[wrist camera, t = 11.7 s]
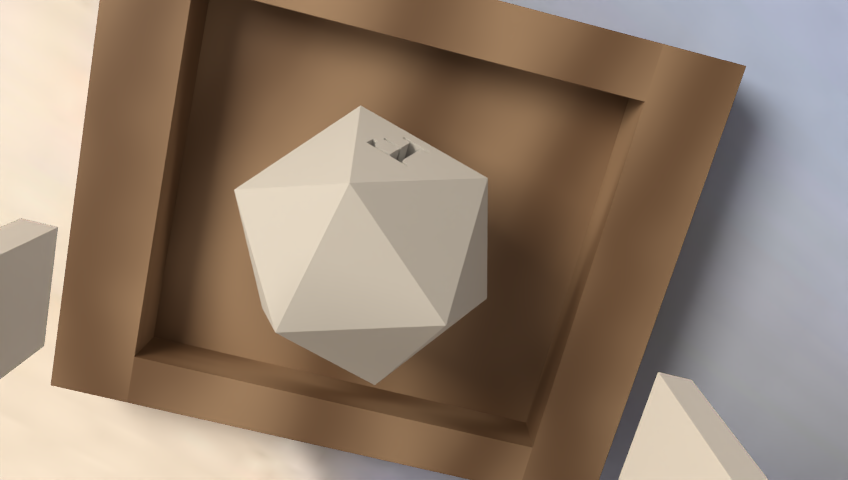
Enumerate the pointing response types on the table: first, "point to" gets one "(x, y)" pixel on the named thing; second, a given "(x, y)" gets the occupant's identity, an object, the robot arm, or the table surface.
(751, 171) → the table surface
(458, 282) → the die
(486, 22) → the tray
